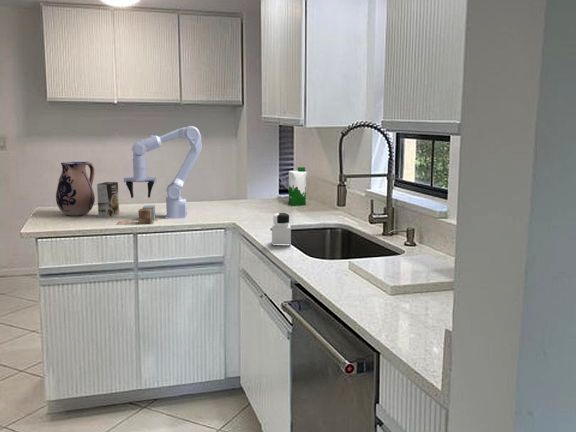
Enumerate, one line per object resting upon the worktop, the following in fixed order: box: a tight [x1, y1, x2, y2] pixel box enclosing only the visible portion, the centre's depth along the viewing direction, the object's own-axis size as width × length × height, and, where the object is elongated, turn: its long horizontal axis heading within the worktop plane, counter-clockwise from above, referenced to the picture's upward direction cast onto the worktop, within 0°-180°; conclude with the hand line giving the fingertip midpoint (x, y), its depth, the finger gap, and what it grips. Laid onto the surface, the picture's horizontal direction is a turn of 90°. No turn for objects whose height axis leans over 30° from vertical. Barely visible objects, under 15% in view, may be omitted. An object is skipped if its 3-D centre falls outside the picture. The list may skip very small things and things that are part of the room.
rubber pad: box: [135, 221, 155, 226], centre depth 265 cm, size 7×7×1 cm
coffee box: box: [96, 181, 120, 219], centre depth 279 cm, size 9×6×16 cm
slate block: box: [141, 204, 156, 220], centre depth 272 cm, size 5×5×6 cm
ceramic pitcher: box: [55, 161, 96, 217], centre depth 285 cm, size 18×21×25 cm
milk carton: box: [288, 166, 308, 207], centre depth 316 cm, size 9×9×20 cm
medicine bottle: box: [271, 212, 292, 245], centre depth 227 cm, size 7×7×12 cm
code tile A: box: [115, 220, 138, 226], centre depth 265 cm, size 8×8×1 cm
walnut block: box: [138, 208, 152, 225], centre depth 264 cm, size 5×5×6 cm
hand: (140, 197), depth 274 cm, fingers open, 7 cm apart
